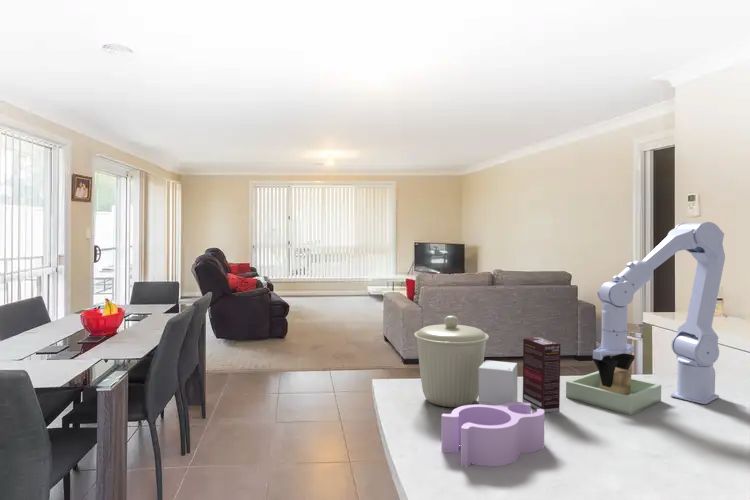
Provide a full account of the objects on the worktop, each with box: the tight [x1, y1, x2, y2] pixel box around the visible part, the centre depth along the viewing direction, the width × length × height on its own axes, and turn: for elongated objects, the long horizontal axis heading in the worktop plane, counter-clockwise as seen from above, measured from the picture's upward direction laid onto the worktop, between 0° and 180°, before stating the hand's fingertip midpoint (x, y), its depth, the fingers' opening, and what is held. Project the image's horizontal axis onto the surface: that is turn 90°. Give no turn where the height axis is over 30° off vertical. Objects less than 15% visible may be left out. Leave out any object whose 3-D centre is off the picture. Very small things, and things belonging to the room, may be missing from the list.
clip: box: [440, 401, 545, 467], centre depth 96 cm, size 20×12×7 cm, turn 114°
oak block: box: [600, 367, 632, 396], centre depth 125 cm, size 5×5×6 cm
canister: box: [413, 315, 490, 408], centre depth 123 cm, size 18×18×21 cm
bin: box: [565, 370, 662, 416], centre depth 125 cm, size 16×16×4 cm
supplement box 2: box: [522, 336, 561, 414], centre depth 120 cm, size 9×5×16 cm, turn 17°
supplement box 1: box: [478, 359, 518, 406], centre depth 110 cm, size 7×7×13 cm
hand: (613, 384), depth 125 cm, fingers closed on oak block, 5 cm apart
